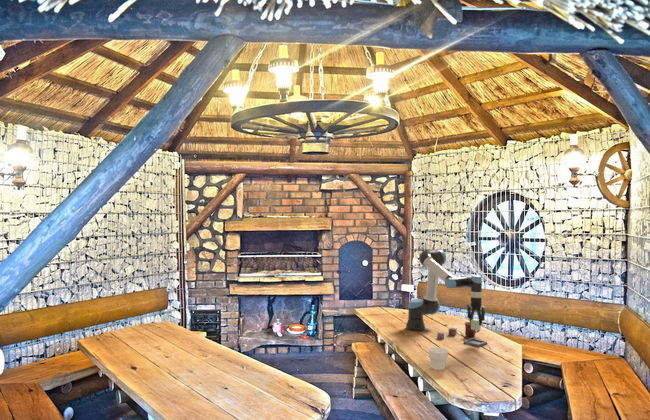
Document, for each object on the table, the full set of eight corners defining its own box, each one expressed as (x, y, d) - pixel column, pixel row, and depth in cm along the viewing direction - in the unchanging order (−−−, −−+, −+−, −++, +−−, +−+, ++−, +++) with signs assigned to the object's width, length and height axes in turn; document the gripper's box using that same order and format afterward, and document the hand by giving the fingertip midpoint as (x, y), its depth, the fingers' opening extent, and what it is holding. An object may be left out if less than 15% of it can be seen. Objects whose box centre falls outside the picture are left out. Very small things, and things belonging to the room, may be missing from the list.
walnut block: (448, 335, 400) (448, 328, 400) (450, 333, 405) (450, 327, 405) (454, 336, 398) (455, 329, 398) (456, 334, 402) (456, 328, 402)
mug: (465, 337, 393) (465, 324, 393) (463, 334, 402) (463, 321, 401) (481, 338, 392) (481, 325, 392) (479, 335, 400) (479, 322, 400)
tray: (463, 343, 377) (463, 341, 377) (472, 340, 385) (472, 338, 385) (478, 347, 369) (478, 344, 368) (487, 344, 377) (487, 341, 377)
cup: (425, 369, 319) (426, 351, 319) (430, 363, 330) (430, 346, 330) (446, 372, 314) (446, 354, 314) (450, 366, 325) (450, 348, 325)
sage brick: (470, 329, 377) (471, 319, 377) (474, 328, 380) (474, 318, 380) (476, 330, 373) (477, 320, 373) (480, 329, 376) (480, 319, 376)
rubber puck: (435, 338, 390) (436, 333, 390) (439, 337, 394) (439, 332, 394) (441, 339, 387) (441, 334, 387) (445, 338, 390) (445, 333, 390)
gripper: (462, 295, 380) (462, 327, 381) (484, 299, 367) (484, 332, 367) (467, 294, 385) (467, 325, 386) (490, 298, 372) (489, 330, 373)
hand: (475, 328), depth 377 cm, fingers closed on sage brick, 5 cm apart
